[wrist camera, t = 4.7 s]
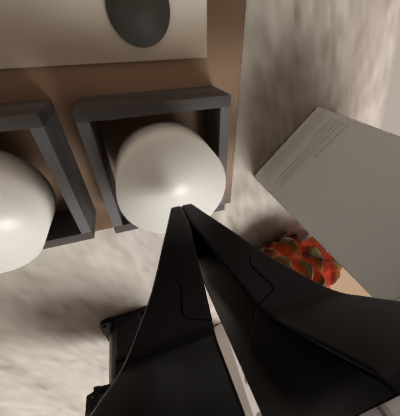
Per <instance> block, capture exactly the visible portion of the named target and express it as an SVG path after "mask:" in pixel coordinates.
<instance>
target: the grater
mask: <svg viewBox="0 0 400 416" xmlns="http://www.w3.org/2000/svg"><path fill="white" fill-rule="evenodd" d="M214 330H215V334H216V337H217V341H218V344H219V346H220V349H221V352H222V354H223V357H224V360H225V362H226V365H227V368H228V370H229V373H230V375H231V378H232V381H233V383H234V386H235V389H236V391H237V394H238V397H239V399H240V402H241V405H242V407H243V410H244V412H245V415H246V416H262V415H261V412H260V410H259V408H258V405H257V403H256V401H255V399H254V396H253V394H252V392H251V390H250V387H249V385H248V383H247V380H246V378H245V376H244V374H243V371H242V369H241V366H240V364H239V362H238V360H237V357H236V355H235V353H234V351H233V348H232V346H231V344H230V341H229V339H228V337H227V335H226V332H225V330H224V328H223V325H222V323H220V324H219V325H217V326H216V327H214Z"/></svg>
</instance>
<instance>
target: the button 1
mask: <svg viewBox="0 0 400 416" xmlns="http://www.w3.org/2000/svg"><path fill="white" fill-rule="evenodd" d="M115 169H116V198H117V203H118V206H119V208H120V210H121V212H122V213H123V215H124V216H125V217H126V219H127V220H128V221H129V222H131V223H132V224H133V225H135V226H136V227H138V228H140V229H142V230H145V231H148V232H152V233H157V234H165V233H166V228H167V224H168V219H169V215H170V210H171V208H172V207H176V206H181V207H182V205H186V204H193V205H194V206H196V207H197V208H199V209H200V210H202V211H203V212H205V213H206V214H207V215H209V216H210V215H211V214H212V213H213V212H214V211H215V210H216V208H217V207H218V205H219V204H220V202H221V200H222V197H223V195H224V191H225V186H226V176H225V171H224V168H223V165H222V163H221V161H220V160H219V158H218V157H217V155H216V154H215V153H214V152H213V151H212V150H211V148H210V147H209V146H208V145H207V144H206V143H205V141H204V140H203V139H202V138H201V137H200V136H199V135H198V134H197V133H196V132H195V131H194V130H193V129H191V128H190V127H188V126H186V125H184V124H181V123H178V122H174V121H156V122H151V123H148V124H145V125H143V126H141V127H139V128H138V129H136V130H135V131H133V132H132V133H131V134H130V135H129V136H128V137H127V138H126V139H125V140H124V141H123V143H122V145H121V146H120V148H119V151H118V153H117V157H116V164H115Z"/></svg>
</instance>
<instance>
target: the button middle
mask: <svg viewBox="0 0 400 416" xmlns="http://www.w3.org/2000/svg"><path fill="white" fill-rule="evenodd" d="M55 210H56V196H55V192H54V190H53V188H52V186H51V184H50V183H49V181H48V180H47V179H46V177H45V176H44V175H43V174H42V173H41V172H40V171H39V170H37V169H36V168H35V167H34V166H32V165H31V164H29V163H28V162H26V161H25V160H23V159H21V158H19V157H17V156H15V155H13V154H10V153H8V152H5V151H2V150H0V273H4V272H8V271H12V270H14V269H17V268H20V267H22V266H24V265H26V264H28V263H29V262H31V261H32V260H33V259H34V258H36V257H37V256H38V254H39V253H40V252H41V250H42V249H43V247H44V244H45V241H46V238H47V235H48V232H49V229H50V225H51V222H52V219H53V216H54V213H55Z"/></svg>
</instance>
